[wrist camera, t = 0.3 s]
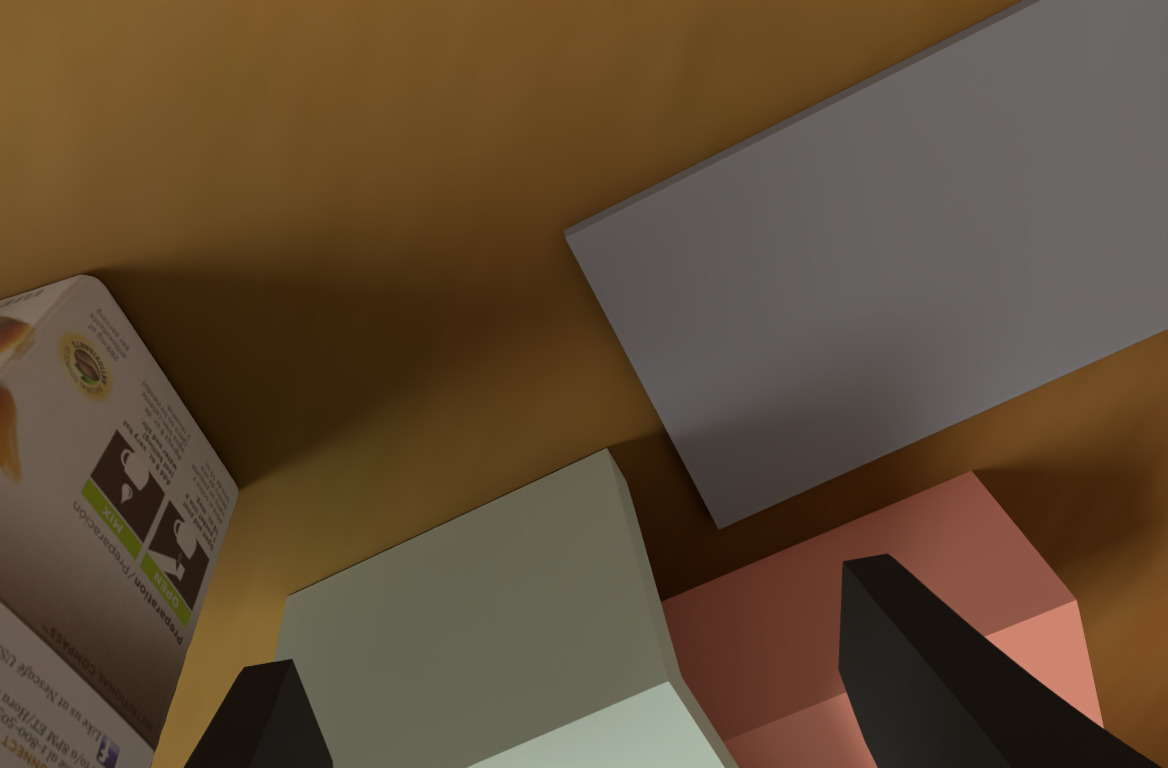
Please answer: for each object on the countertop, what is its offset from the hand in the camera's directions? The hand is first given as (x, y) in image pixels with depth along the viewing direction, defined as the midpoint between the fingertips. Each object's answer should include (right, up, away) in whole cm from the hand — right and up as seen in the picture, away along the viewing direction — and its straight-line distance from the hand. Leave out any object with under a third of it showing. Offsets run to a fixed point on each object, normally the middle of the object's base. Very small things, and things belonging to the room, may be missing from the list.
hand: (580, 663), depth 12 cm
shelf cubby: (0, -6, +15) cm, 16 cm away
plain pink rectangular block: (+5, -3, +14) cm, 16 cm away
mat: (+10, +7, +9) cm, 15 cm away
